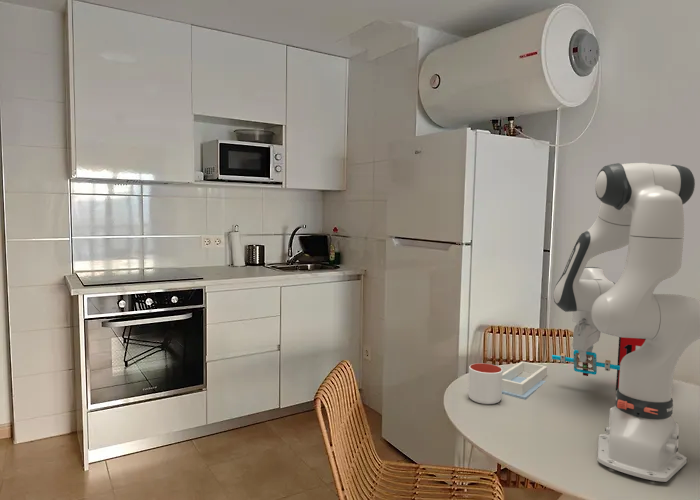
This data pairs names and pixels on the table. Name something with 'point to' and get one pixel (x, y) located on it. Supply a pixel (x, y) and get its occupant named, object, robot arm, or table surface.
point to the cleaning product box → (627, 350)
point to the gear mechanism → (586, 363)
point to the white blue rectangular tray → (523, 380)
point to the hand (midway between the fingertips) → (585, 359)
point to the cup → (485, 383)
